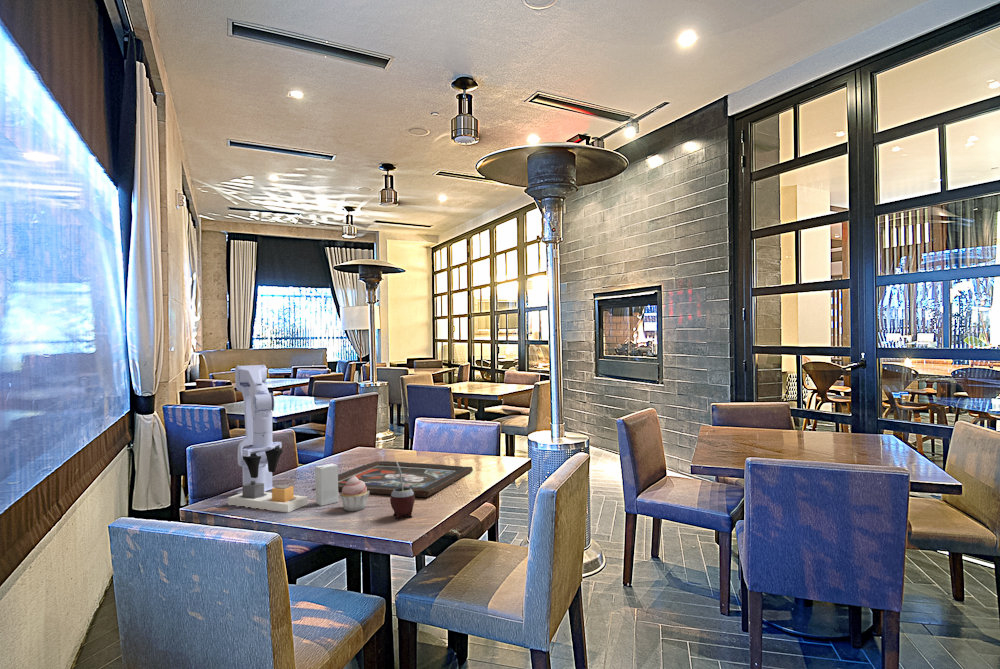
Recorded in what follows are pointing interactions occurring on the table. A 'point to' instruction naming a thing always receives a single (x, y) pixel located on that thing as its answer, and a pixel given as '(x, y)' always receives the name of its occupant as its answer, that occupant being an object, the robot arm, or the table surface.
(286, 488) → the orange block
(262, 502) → the white recessed tray
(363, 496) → the cupcake
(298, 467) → the table surface
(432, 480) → the religious icon
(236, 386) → the robot arm
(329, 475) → the skincare box
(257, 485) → the twin plug
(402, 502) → the mate gourd
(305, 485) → the table surface
